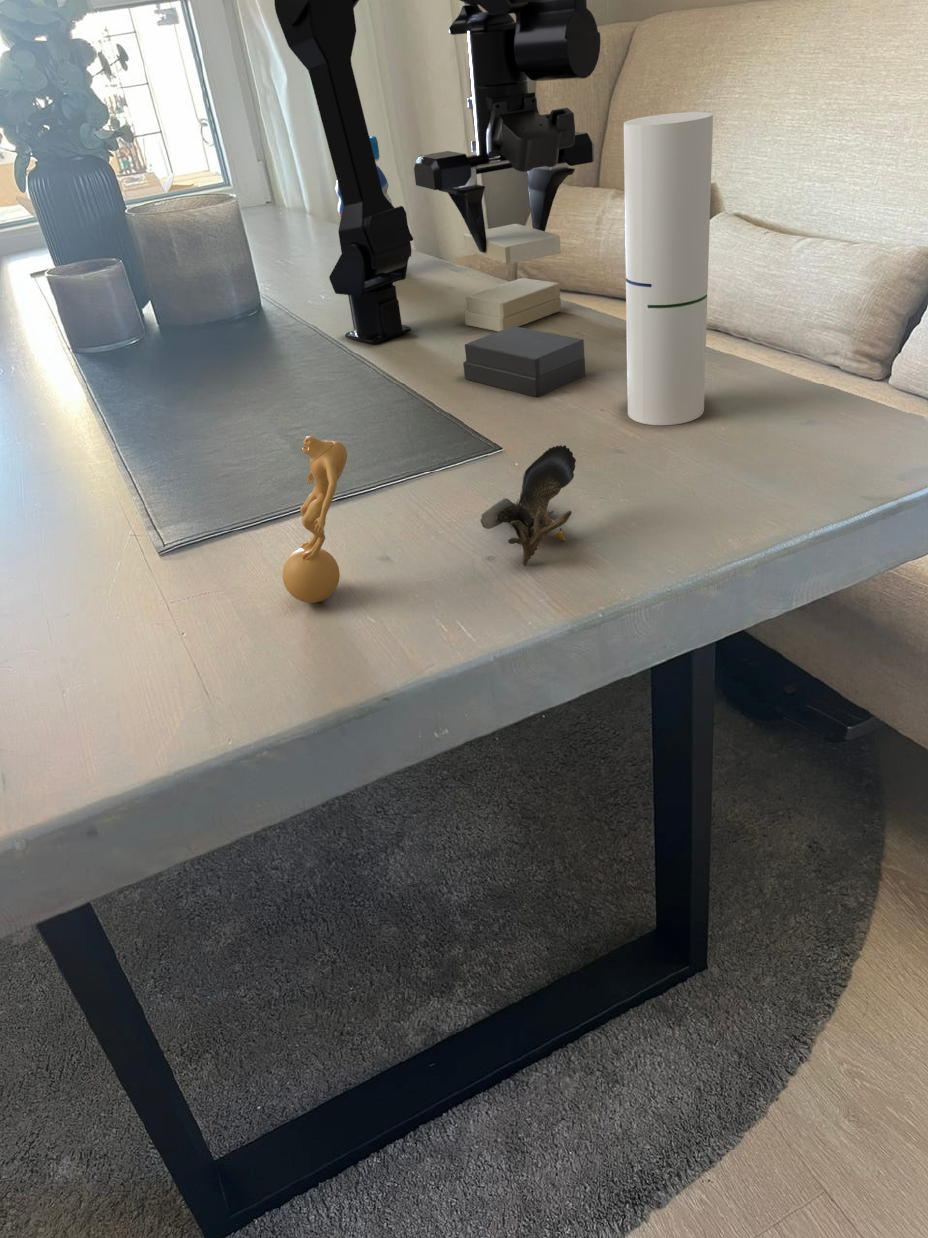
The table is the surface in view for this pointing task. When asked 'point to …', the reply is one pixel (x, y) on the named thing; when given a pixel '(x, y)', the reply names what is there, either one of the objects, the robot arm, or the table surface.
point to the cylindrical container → (667, 264)
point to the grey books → (525, 360)
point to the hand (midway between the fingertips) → (510, 245)
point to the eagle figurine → (535, 501)
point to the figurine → (316, 526)
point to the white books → (512, 304)
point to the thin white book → (515, 244)
